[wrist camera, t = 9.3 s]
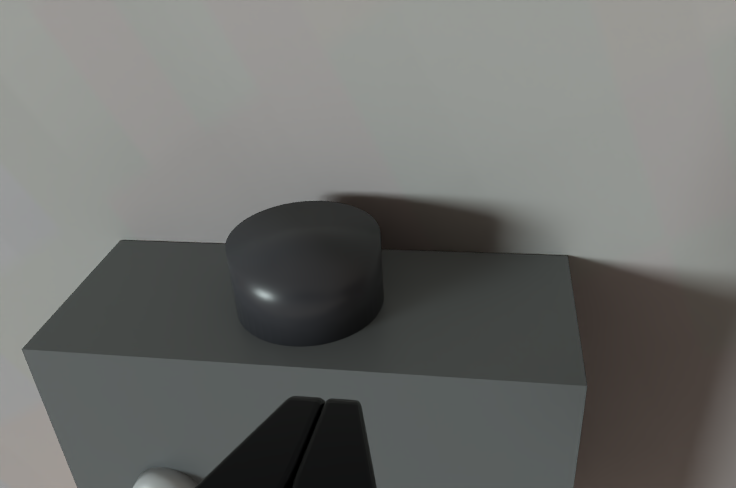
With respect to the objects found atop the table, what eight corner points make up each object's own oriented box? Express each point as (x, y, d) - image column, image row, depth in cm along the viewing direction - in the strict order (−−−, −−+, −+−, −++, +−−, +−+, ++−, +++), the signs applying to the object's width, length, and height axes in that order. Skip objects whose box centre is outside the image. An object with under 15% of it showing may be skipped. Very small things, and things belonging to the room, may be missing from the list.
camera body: (573, 194, 19) (600, 331, 14) (543, 493, 25) (553, 664, 20) (104, 184, 22) (-20, 299, 16) (182, 460, 28) (109, 606, 23)
